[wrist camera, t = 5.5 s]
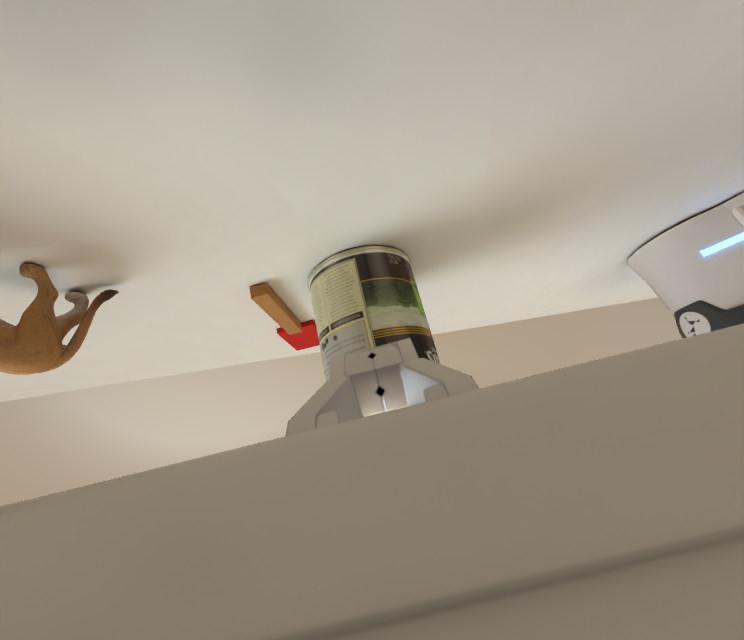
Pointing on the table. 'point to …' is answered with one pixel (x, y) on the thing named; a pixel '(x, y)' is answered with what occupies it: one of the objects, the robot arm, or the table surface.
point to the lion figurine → (45, 328)
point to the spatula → (285, 318)
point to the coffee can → (367, 303)
